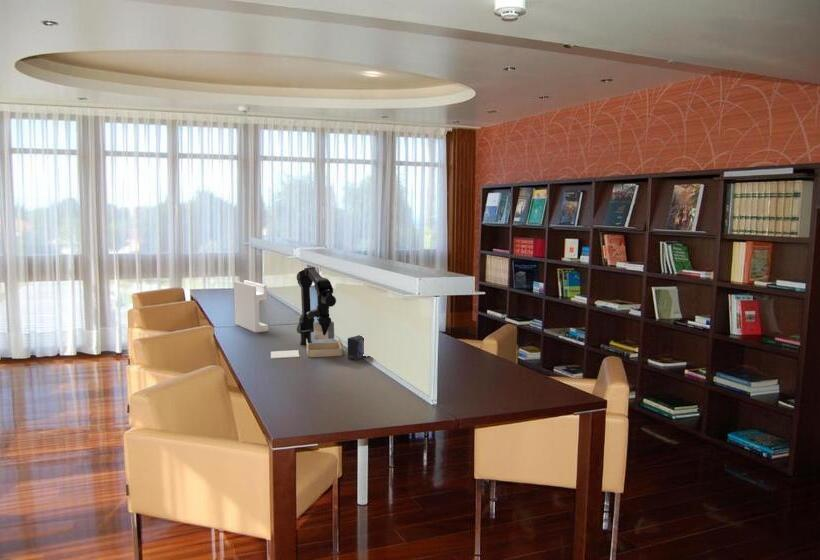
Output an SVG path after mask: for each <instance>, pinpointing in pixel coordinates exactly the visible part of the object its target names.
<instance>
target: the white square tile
mask: <svg viewBox="0 0 820 560" xmlns="http://www.w3.org/2000/svg"><path fill="white" fill-rule="evenodd" d="M292 358H300V352H299V349H297V350H296V349H294V350H293V349H292V350H277V351H270V359H271V360H274V359H276V360H277V359H292Z"/></svg>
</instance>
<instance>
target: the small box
mask: <svg viewBox="0 0 820 560" xmlns="http://www.w3.org/2000/svg"><path fill="white" fill-rule="evenodd" d="M360 335H361V334H359V335H355V336H351V337H347V359H349V360H354V361H358V360H362V359H365V358H367V357H366V356H363V354H364V338H363V337H362V336H360Z"/></svg>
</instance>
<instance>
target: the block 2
mask: <svg viewBox="0 0 820 560" xmlns="http://www.w3.org/2000/svg"><path fill="white" fill-rule="evenodd" d="M313 339H314V340H325V339H326V340H327V339H328V340H331V339H335V322H334V321H332V320H331V323H330V325H329V327H328V330H327V332H326V335H323V331H322V327H321V325H320V324H319V323H318V321H314V332H313Z"/></svg>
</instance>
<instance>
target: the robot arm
mask: <svg viewBox="0 0 820 560" xmlns="http://www.w3.org/2000/svg"><path fill="white" fill-rule="evenodd" d="M296 281H297V284H298V286H299V287H300V294H301V295H300V297H301V299H300V300H301V315H300V317H299V320H298V324H297V326H296V333H297V334H300V341H299V345H306V339H307V341H308V343H313V342H312V333H314V322H315V318H316V320H317V322H318V323H319V324H320V325H321V327H322V331H323V335H326V332H327V330H328V327H329V325H330V323H331V321H332V318H331V317H330V308H331V307H334V306H335V305H336V304H337V298H336V297H335V296H334V295H333V294H334V287H333V286H332V282H331V281H330V279H328V278H327V277H323V276H321V275H320V273H319V272H318V271H317V270H316V268H315V267H313V266H311V267H310V266H308V267H305V268H304V269H302V270H301V271H299V272H298V273H297V274H296ZM313 283H314V290H315V291H316V293H315V294H316V295H317V297H316V298H317V306H316V308H315V309H311V286H312V285H313Z"/></svg>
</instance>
